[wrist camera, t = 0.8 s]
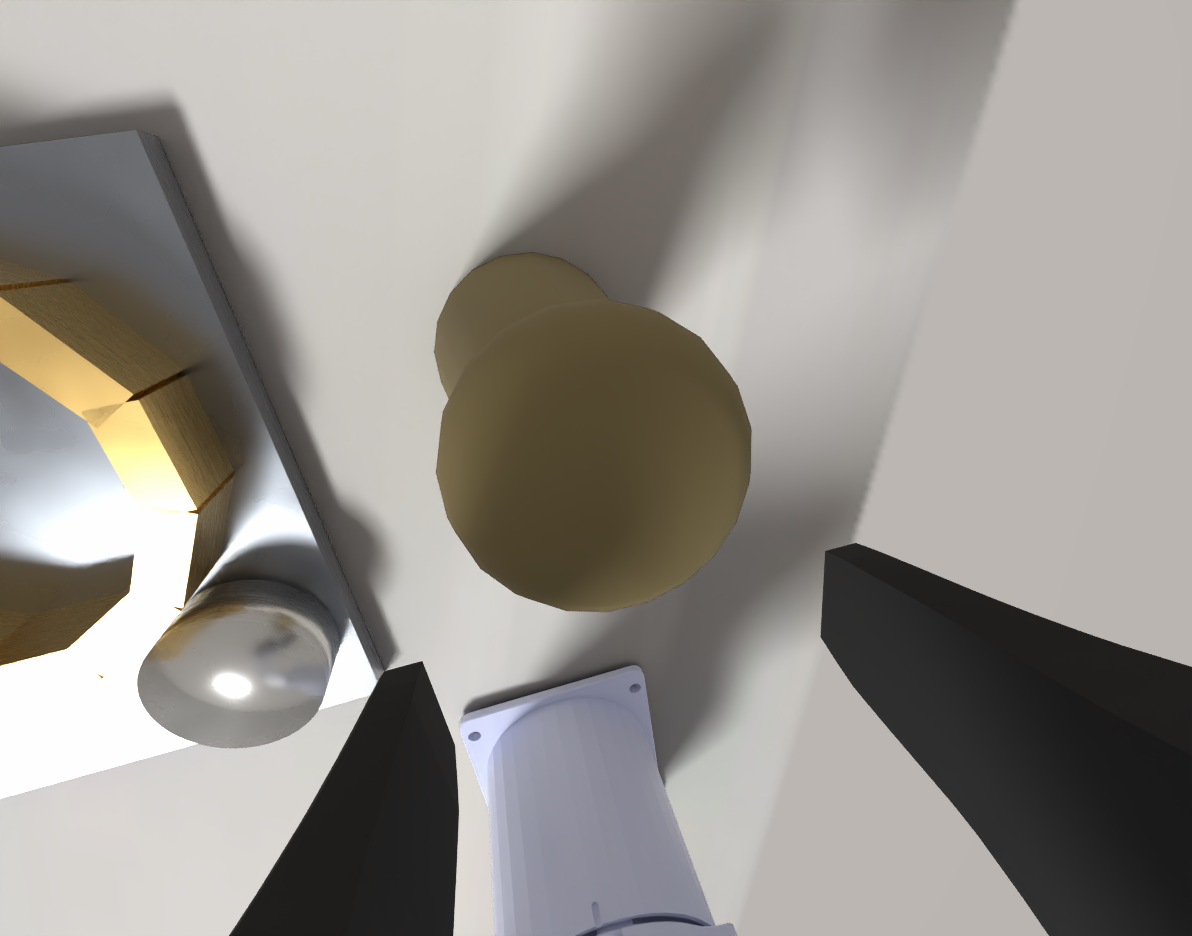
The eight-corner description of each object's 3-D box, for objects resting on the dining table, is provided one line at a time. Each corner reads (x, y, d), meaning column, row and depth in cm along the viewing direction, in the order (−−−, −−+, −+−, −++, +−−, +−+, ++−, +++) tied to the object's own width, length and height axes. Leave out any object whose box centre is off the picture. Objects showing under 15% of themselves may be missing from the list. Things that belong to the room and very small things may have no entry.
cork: (554, 209, 16) (705, 169, 6) (653, 372, 19) (869, 526, 9) (391, 329, 16) (285, 476, 6) (512, 473, 19) (568, 732, 9)
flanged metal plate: (385, 672, 21) (372, 749, 18) (-23, 784, 19) (-118, 893, 16) (157, 137, 13) (65, 107, 10) (-567, 228, 11) (-960, 226, 8)
